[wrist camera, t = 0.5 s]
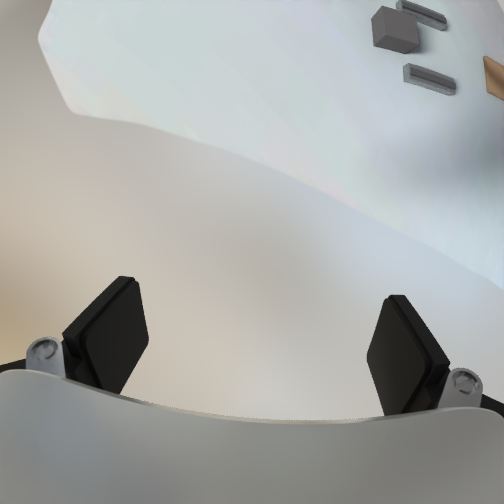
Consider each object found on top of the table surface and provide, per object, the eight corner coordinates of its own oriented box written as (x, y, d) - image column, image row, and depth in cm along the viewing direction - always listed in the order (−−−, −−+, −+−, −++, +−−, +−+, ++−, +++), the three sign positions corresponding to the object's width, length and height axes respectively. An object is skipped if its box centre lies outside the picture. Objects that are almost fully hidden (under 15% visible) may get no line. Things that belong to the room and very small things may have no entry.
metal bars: (395, 3, 24) (401, -3, 22) (438, 19, 23) (445, 14, 21) (403, 81, 29) (410, 78, 27) (447, 95, 29) (455, 93, 26)
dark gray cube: (371, 19, 26) (382, 5, 21) (401, 27, 26) (415, 16, 21) (373, 46, 28) (385, 34, 23) (404, 54, 27) (419, 44, 23)
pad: (483, 56, 24) (486, 55, 23) (507, 71, 24) (510, 70, 23) (487, 92, 27) (490, 91, 26) (510, 104, 26) (514, 104, 25)
